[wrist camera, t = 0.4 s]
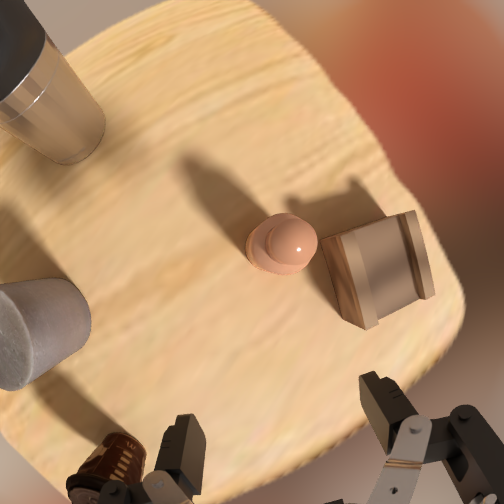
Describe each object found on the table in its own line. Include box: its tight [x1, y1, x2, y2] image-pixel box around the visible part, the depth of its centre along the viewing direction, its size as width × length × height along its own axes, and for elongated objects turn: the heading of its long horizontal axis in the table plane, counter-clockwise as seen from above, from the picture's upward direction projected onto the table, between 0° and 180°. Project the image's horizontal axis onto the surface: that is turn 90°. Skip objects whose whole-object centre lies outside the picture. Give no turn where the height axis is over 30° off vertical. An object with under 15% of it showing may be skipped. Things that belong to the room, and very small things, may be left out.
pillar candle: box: [0, 278, 91, 391], centre depth 23 cm, size 10×10×15 cm
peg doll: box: [245, 213, 318, 275], centre depth 27 cm, size 5×5×12 cm
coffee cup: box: [66, 433, 147, 504], centre depth 24 cm, size 9×8×13 cm
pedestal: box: [320, 210, 435, 330], centre depth 32 cm, size 10×10×6 cm
